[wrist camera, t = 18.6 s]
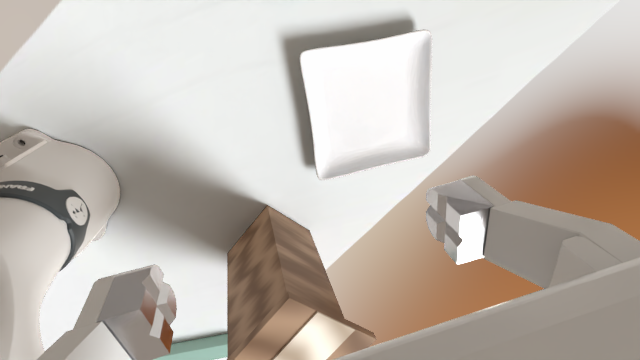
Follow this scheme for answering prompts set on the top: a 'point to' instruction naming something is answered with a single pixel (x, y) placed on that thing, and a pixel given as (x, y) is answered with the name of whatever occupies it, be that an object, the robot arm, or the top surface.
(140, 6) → the top surface
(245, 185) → the top surface
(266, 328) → the stand
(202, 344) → the bar
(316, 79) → the salad plate
